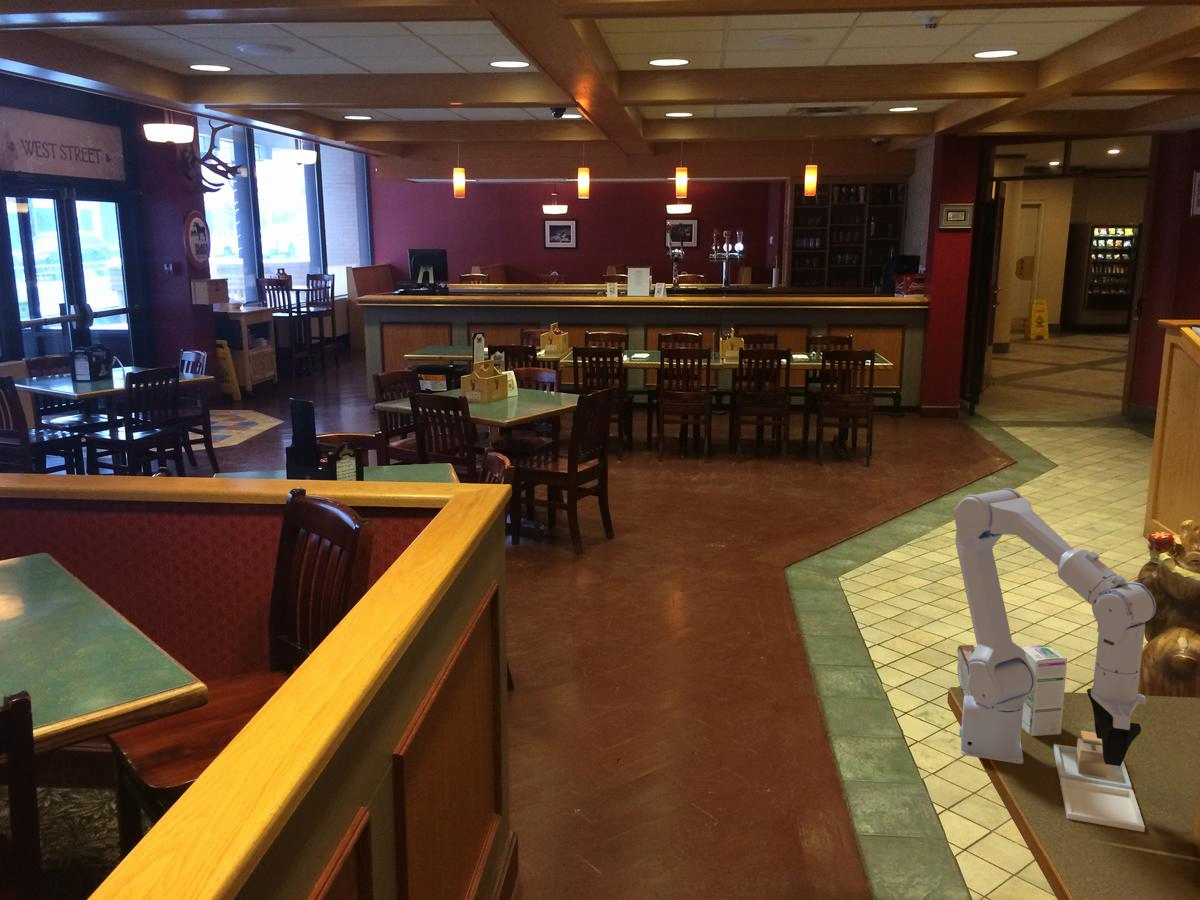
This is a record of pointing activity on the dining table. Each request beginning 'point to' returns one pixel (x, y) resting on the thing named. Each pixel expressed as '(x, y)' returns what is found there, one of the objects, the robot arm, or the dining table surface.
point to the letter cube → (1090, 758)
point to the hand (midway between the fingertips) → (1108, 750)
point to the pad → (1090, 736)
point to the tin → (964, 667)
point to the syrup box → (1045, 691)
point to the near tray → (1101, 804)
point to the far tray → (1069, 771)
